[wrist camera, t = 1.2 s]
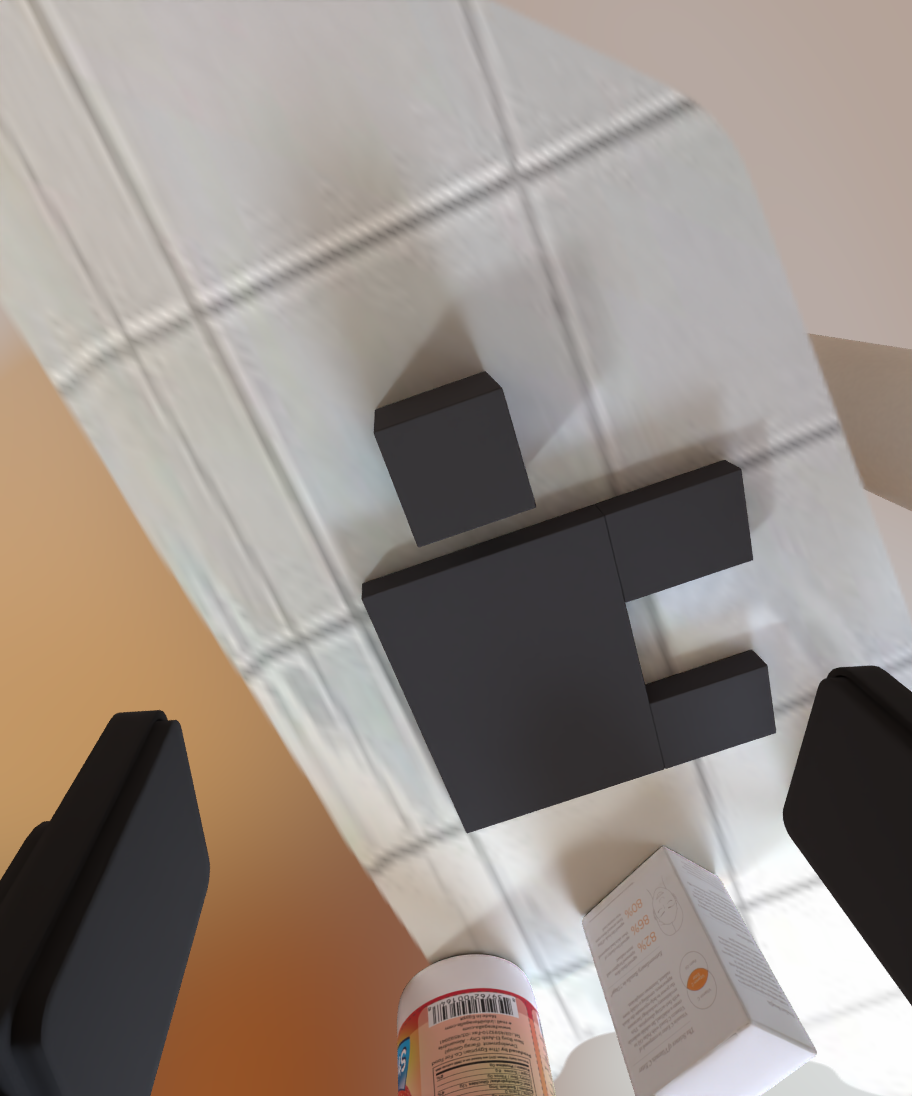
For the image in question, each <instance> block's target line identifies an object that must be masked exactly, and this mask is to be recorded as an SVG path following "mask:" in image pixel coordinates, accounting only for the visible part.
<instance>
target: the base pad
mask: <svg viewBox="0 0 912 1096" xmlns="http://www.w3.org/2000/svg"><path fill="white" fill-rule="evenodd" d="M751 560H753V554H752V547H751V539H750V532H749V524H748V516H747V509H746V501H745V494H744V486H743V479H742V471H741V469H740V468H739V467H737V466H735V465H733V464H731V463H730V462H728V461H726V460H723V461H720V462H717V463H715V464H712V465H709V466H706V467H703V468H700V469H697V470H694V471H691V472H688V473H685V474H682V475H679V476H676V477H673V478H671V479H668V480H665V481H662V482H659V483H656V484H653V485H650V486H647V487H644V488H641V489H638V490H635V491H632V492H630V493H627V494H624V495H621V496H618V497H615V498H612V499H609V500H606V501H603V502H600V503H597V504H595V505H592V506H589V507H586V508H583V509H580V510H577V511H574V512H571V513H568V514H565V515H562V516H560V517H557V518H554V519H551V520H548V521H545V522H542V523H539V524H536V525H533V526H530V527H527V528H524V529H521V530H519V531H516V532H513V533H510V534H507V535H504V536H501V537H498V538H495V539H492V540H489V541H486V542H483V543H480V544H478V545H475V546H472V547H469V548H466V549H463V550H460V551H457V552H454V553H451V554H448V555H445V556H442V557H439V558H436V559H434V560H431V561H428V562H425V563H422V564H419V565H416V566H413V567H410V568H407V569H404V570H401V571H398V572H395V573H393V574H390V575H387V576H384V577H381V578H378V579H375V580H372V581H369V582H366V583H363V584H362V601H363V603H364V605H365V608H366V610H367V612H368V614H369V617H370V619H371V621H372V623H373V625H374V628H375V630H376V632H377V634H378V637H379V639H380V641H381V643H382V646H383V648H384V650H385V652H386V654H387V657H388V659H389V661H390V663H391V666H392V668H393V670H394V672H395V675H396V677H397V679H398V681H399V683H400V686H401V688H402V690H403V692H404V695H405V697H406V699H407V701H408V704H409V706H410V708H411V710H412V712H413V715H414V717H415V719H416V721H417V724H418V726H419V728H420V730H421V733H422V735H423V737H424V739H425V741H426V744H427V746H428V748H429V750H430V753H431V755H432V757H433V759H434V762H435V764H436V766H437V768H438V770H439V773H440V775H441V777H442V779H443V782H444V784H445V786H446V788H447V791H448V793H449V795H450V797H451V800H452V802H453V804H454V806H455V808H456V811H457V813H458V815H459V817H460V820H461V822H462V824H463V826H464V829H465V831H466V833H470V832H473V831H476V830H479V829H482V828H485V827H488V826H491V825H494V824H497V823H500V822H504V821H507V820H510V819H513V818H516V817H519V816H522V815H525V814H528V813H531V812H534V811H537V810H540V809H543V808H547V807H550V806H553V805H556V804H559V803H562V802H565V801H568V800H571V799H574V798H577V797H580V796H583V795H586V794H590V793H593V792H596V791H599V790H602V789H605V788H608V787H611V786H614V785H617V784H620V783H623V782H626V781H630V780H633V779H636V778H639V777H642V776H645V775H648V774H651V773H654V772H657V771H660V770H663V769H667V768H670V767H673V766H676V765H679V764H682V763H685V762H688V761H691V760H694V759H697V758H700V757H704V756H707V755H710V754H713V753H716V752H719V751H722V750H725V749H728V748H731V747H734V746H737V745H740V744H744V743H747V742H750V741H753V740H756V739H759V738H762V737H765V736H768V735H771V734H774V733H776V727H775V720H774V712H773V705H772V697H771V690H770V682H769V675H768V667H767V664H766V663H765V662H764V661H763V660H762V659H761V658H760V657H759V656H758V655H757V654H756V653H755V652H754V651H753V650H750V651H747V652H744V653H741V654H738V655H735V656H732V657H729V658H726V659H723V660H720V661H717V662H714V663H711V664H708V665H705V666H702V667H699V668H696V669H693V670H690V671H687V672H684V673H680V674H677V675H674V676H671V677H668V678H665V679H662V680H659V681H656V682H653V683H650V684H647V685H645V684H644V680H643V676H642V671H641V667H640V663H639V659H638V655H637V651H636V646H635V642H634V638H633V634H632V630H631V626H630V621H629V617H628V613H627V609H626V605H625V602H629V601H632V600H635V599H638V598H641V597H644V596H647V595H650V594H653V593H656V592H659V591H662V590H665V589H668V588H671V587H674V586H677V585H680V584H683V583H686V582H689V581H692V580H695V579H698V578H701V577H704V576H707V575H710V574H713V573H716V572H719V571H722V570H725V569H727V568H730V567H733V566H736V565H739V564H742V563H745V562H748V561H751Z"/></svg>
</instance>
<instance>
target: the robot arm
mask: <svg viewBox="0 0 912 1096" xmlns="http://www.w3.org/2000/svg"><path fill="white" fill-rule="evenodd" d="M783 821H784V825H785V828H786V830H787V832H788V834H789V836H790V837H791V839H792V840H793V841H794V843H795V844H796V846H797V847H798V848H799V850H800V851H801V853H802V854H803V855H804V857H805V858H806V860H807V861H808V862H809V864H810V865H811V866H812V868H813V869H814V871H815V872H816V873H817V875H818V876H819V878H820V879H821V880H822V882H823V883H824V885H825V886H826V887H827V889H828V890H829V891H830V893H831V894H832V896H833V897H834V898H835V900H836V901H837V903H838V904H839V905H840V907H841V908H842V909H843V911H844V912H845V914H846V915H847V916H848V918H849V919H850V921H851V922H852V923H853V925H854V926H855V928H856V929H857V930H858V932H859V933H860V934H861V936H862V937H863V939H864V940H865V941H866V943H867V944H868V946H869V947H870V948H871V950H872V951H873V953H874V954H875V955H876V957H877V958H878V959H879V961H880V962H881V964H882V965H883V966H884V968H885V969H886V971H887V972H888V973H889V975H890V976H891V978H892V979H893V980H894V982H895V983H896V984H897V986H898V987H899V989H900V990H901V991H902V993H903V994H904V996H905V997H906V998H907V1000H908V1001H909V1003H910V1004H911V1005H912V692H911V691H910V690H909V689H907V688H906V687H905V686H904V685H902V684H901V683H900V682H899V681H897V680H896V679H895V678H894V677H892V676H891V675H890V674H889V673H887V672H886V671H885V670H883V669H881V668H880V667H877V666H872V665H871V666H855V667H839V668H836V669H833V670H832V671H831V672H830V673H829V674H828V676H827V678H826V679H823V680H822V681H821V682H820V684H819V686H818V690H817V693H816V697H815V700H814V704H813V707H812V711H811V714H810V718H809V721H808V724H807V728H806V731H805V735H804V738H803V742H802V745H801V749H800V752H799V756H798V759H797V763H796V766H795V770H794V773H793V777H792V780H791V784H790V787H789V791H788V794H787V798H786V801H785V805H784V808H783ZM209 873H210V862H209V856H208V852H207V847H206V842H205V837H204V832H203V828H202V823H201V818H200V814H199V809H198V804H197V799H196V795H195V790H194V785H193V780H192V776H191V771H190V766H189V762H188V757H187V752H186V747H185V743H184V738H183V733H182V729H181V725H180V723H179V722H178V721H177V720H169V721H168V720H167V717H166V715H165V713H164V712H163V711H161V710H155V711H141V712H140V711H138V712H123V713H117V714H115V715H114V716H113V717H112V718H111V720H110V721H109V723H108V724H107V726H106V728H105V729H104V731H103V733H102V735H101V736H100V738H99V740H98V741H97V743H96V745H95V746H94V748H93V750H92V751H91V753H90V755H89V756H88V758H87V760H86V761H85V764H84V765H83V767H82V768H81V770H80V772H79V773H78V775H77V777H76V778H75V780H74V782H73V783H72V785H71V787H70V789H69V790H68V792H67V793H66V795H65V797H64V799H63V800H62V802H61V804H60V806H59V807H58V809H57V810H56V812H55V814H54V815H53V817H52V819H51V820H50V821H46V822H42V823H41V824H40V825H38V826H37V827H35V828H34V829H33V831H32V832H31V833H30V834H29V836H28V837H27V838H26V840H25V841H24V843H23V844H22V846H21V848H20V849H19V851H18V853H17V854H16V856H15V857H14V859H13V861H12V862H11V864H10V866H9V867H8V869H7V870H6V872H5V874H4V875H3V877H2V879H1V880H0V1096H150V1095H151V1091H152V1087H153V1084H154V1080H155V1076H156V1073H157V1069H158V1066H159V1062H160V1058H161V1055H162V1051H163V1048H164V1044H165V1040H166V1036H167V1033H168V1030H169V1026H170V1022H171V1019H172V1015H173V1012H174V1008H175V1004H176V1000H177V997H178V993H179V990H180V986H181V982H182V979H183V975H184V971H185V968H186V965H187V961H188V957H189V954H190V950H191V946H192V943H193V939H194V936H195V932H196V928H197V925H198V921H199V917H200V914H201V910H202V907H203V903H204V899H205V896H206V892H207V888H208V883H209Z"/></svg>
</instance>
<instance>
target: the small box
mask: <svg viewBox="0 0 912 1096" xmlns="http://www.w3.org/2000/svg"><path fill="white" fill-rule="evenodd" d="M582 925H583V929H584V932H585V935H586V938H587V941H588V944H589V948H590V951H591V954H592V957H593V960H594V964H595V967H596V970H597V973H598V977H599V980H600V983H601V986H602V989H603V992H604V996H605V999H606V1002H607V1005H608V1009H609V1012H610V1015H611V1018H612V1021H613V1025H614V1028H615V1031H616V1034H617V1038H618V1041H619V1045H620V1048H621V1051H622V1054H623V1057H624V1061H625V1064H626V1066H627V1070H628V1073H629V1077H630V1080H631V1083H632V1086H633V1089H634V1092H635V1096H761V1095H762V1094H763V1093H765V1092H766V1091H768V1090H769V1089H771V1088H772V1087H773V1086H774V1085H776V1084H777V1083H778V1082H780V1081H781V1080H783V1079H784V1078H786V1077H787V1076H788V1075H790V1074H791V1073H792V1072H794V1071H795V1070H796V1069H798V1068H799V1067H801V1066H802V1065H803V1064H805V1063H806V1062H808V1061H809V1060H810V1059H812V1058H813V1057H815V1056H816V1054H817V1052H816V1049H815V1047H814V1045H813V1043H812V1041H811V1040H810V1038H809V1036H808V1034H807V1033H806V1031H805V1029H804V1027H803V1026H802V1024H801V1022H800V1020H799V1018H798V1017H797V1015H796V1013H795V1011H794V1010H793V1008H792V1006H791V1004H790V1002H789V1001H788V999H787V997H786V995H785V994H784V992H783V990H782V988H781V987H780V985H779V983H778V981H777V979H776V978H775V976H774V974H773V972H772V970H771V968H770V967H769V965H768V963H767V961H766V959H765V958H764V956H763V954H762V952H761V951H760V949H759V947H758V946H757V944H756V942H755V940H754V938H753V936H752V935H751V933H750V931H749V929H748V928H747V926H746V924H745V922H744V920H743V919H742V917H741V915H740V913H739V911H738V910H737V908H736V906H735V904H734V903H733V901H732V899H731V897H730V895H729V894H728V892H727V890H726V889H725V887H724V885H723V883H722V881H721V880H720V878H719V877H718V876H716V875H715V874H713V873H711V872H709V871H708V870H706V869H704V868H702V867H701V866H699V865H697V864H695V863H694V862H692V861H690V860H688V859H687V858H685V857H683V856H681V855H679V854H678V853H676V852H674V851H672V850H671V849H669V848H667V847H665V846H662V847H661V848H660V849H659V850H657V851H656V852H655V853H654V854H653V855H652V856H651V857H650V858H649V859H648V860H646V861H645V862H644V863H643V864H642V865H641V866H640V867H639V868H638V869H636V870H635V871H634V872H633V873H632V874H631V875H630V876H629V877H628V878H627V879H625V880H624V881H623V882H622V883H621V884H620V885H619V886H618V887H617V888H615V889H614V890H613V891H612V892H611V893H610V894H609V895H608V896H607V897H606V898H604V899H603V900H602V901H601V902H600V903H599V904H598V905H597V906H596V907H595V908H594V909H592V910H591V911H590V912H589V913H588V914H587V915H586V916H585V917H584V918H583V919H582Z"/></svg>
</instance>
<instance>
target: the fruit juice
mask: <svg viewBox="0 0 912 1096" xmlns="http://www.w3.org/2000/svg"><path fill="white" fill-rule="evenodd" d="M397 1044H398V1045H397V1046H398V1096H556V1094H555V1090H554V1085H553V1080H552V1075H551V1070H550V1065H549V1061H548V1056H547V1051H546V1046H545V1041H544V1037H543V1032H542V1027H541V1022H540V1017H539V1013H538V1008H537V1003H536V998H535V995H534V992H533V989H532V986H531V984H530V982H529V980H528V978H527V976H526V975H525V973H524V972H523V971H522V970H521V969H520V968H519V967H518V966H516V965H515V964H513V963H512V962H510V961H508V960H505V959H503V958H499V957H496V956H491V955H483V954H469V955H461V956H455V957H451V958H447V959H444V960H441V961H439V962H436V963H434V964H432V965H430V966H428V967H426V968H425V969H423V970H422V971H420V972H419V973H418V974H416V975H415V976H414V977H413V978H412V979H411V980H410V981H409V983H408V984H407V985H406V987H405V988H404V990H403V992H402V995H401V998H400V1002H399V1006H398V1017H397Z"/></svg>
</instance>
